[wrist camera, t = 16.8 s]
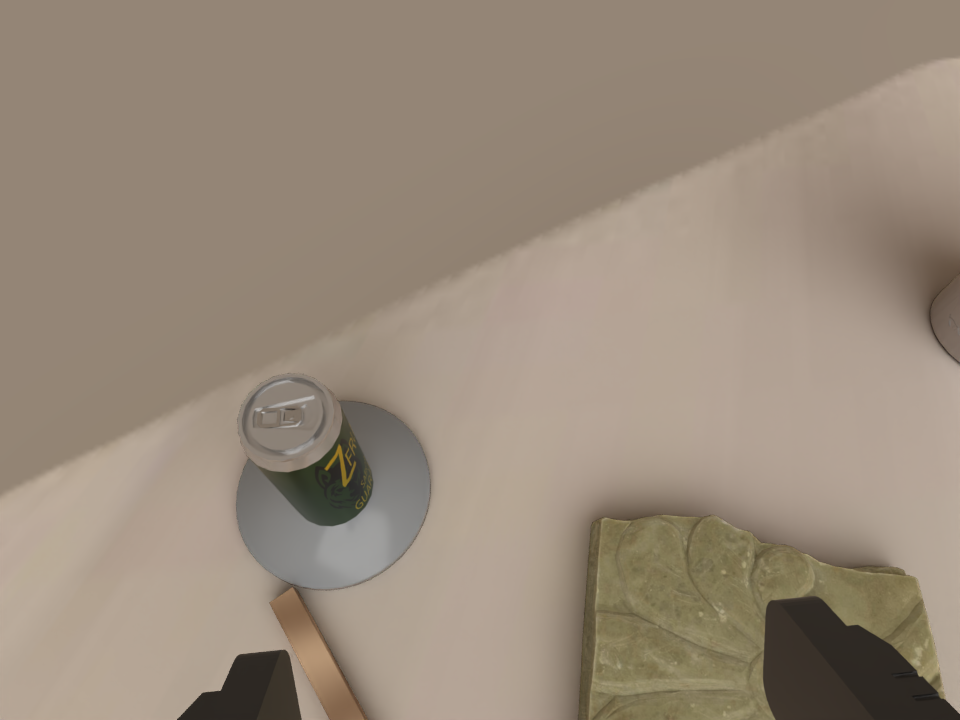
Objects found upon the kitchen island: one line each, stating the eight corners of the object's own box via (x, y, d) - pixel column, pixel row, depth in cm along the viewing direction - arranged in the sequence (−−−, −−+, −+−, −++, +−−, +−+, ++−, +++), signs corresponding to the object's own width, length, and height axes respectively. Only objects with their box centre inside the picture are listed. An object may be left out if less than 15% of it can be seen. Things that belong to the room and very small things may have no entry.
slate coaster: (389, 379, 48) (388, 374, 48) (461, 535, 42) (461, 532, 42) (219, 450, 46) (215, 445, 45) (270, 627, 40) (266, 625, 39)
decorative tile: (963, 922, 33) (1012, 942, 30) (569, 855, 34) (577, 868, 31) (896, 553, 42) (928, 539, 39) (587, 513, 43) (594, 497, 40)
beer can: (293, 533, 42) (227, 469, 31) (297, 455, 44) (237, 373, 34) (375, 525, 42) (337, 460, 32) (374, 448, 45) (339, 364, 34)
